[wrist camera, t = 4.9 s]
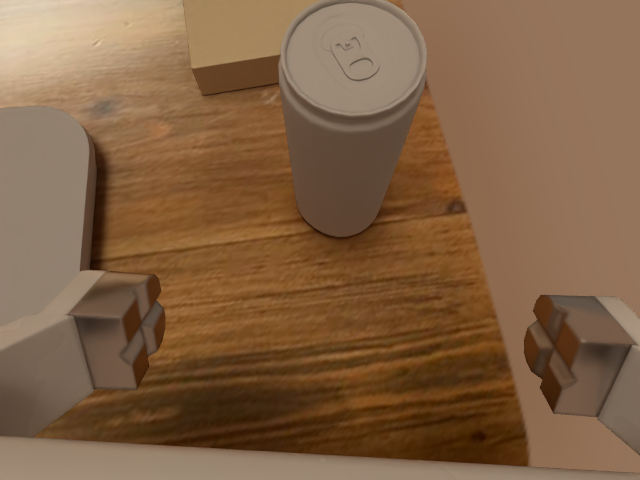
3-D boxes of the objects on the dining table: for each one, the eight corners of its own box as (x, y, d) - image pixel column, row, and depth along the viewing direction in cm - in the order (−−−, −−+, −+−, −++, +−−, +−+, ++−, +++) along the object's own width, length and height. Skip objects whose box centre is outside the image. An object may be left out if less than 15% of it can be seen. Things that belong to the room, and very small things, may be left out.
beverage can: (356, 148, 26) (383, -31, 15) (396, 217, 25) (462, 80, 13) (282, 182, 25) (250, 23, 14) (320, 255, 24) (318, 145, 13)
